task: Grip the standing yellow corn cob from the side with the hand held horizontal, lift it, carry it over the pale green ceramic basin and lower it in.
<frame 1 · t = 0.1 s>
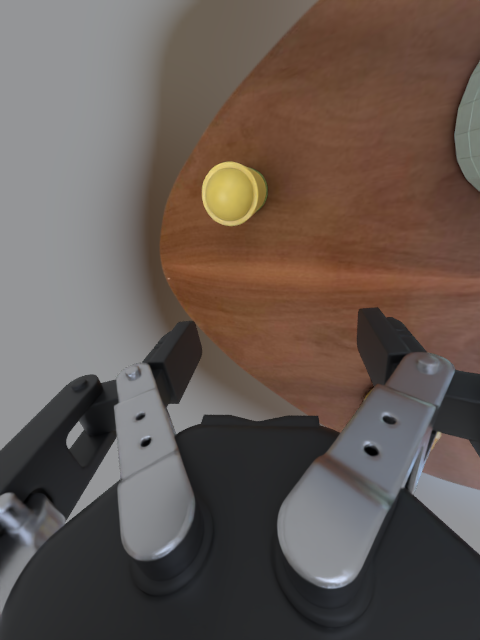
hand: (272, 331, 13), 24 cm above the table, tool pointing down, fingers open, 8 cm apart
corn cob: (247, 191, 31), on the table
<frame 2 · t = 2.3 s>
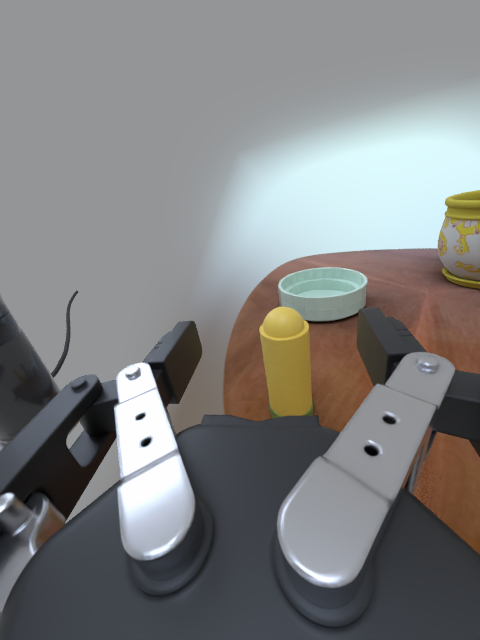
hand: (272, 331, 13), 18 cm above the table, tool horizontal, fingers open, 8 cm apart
basin: (320, 304, 54), on the table
corn cob: (291, 413, 30), on the table
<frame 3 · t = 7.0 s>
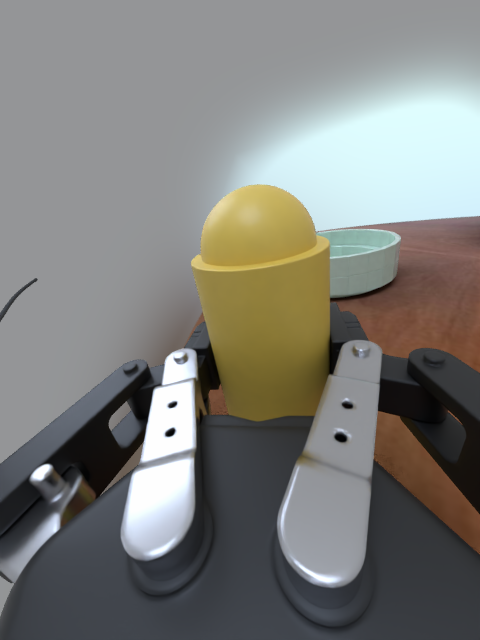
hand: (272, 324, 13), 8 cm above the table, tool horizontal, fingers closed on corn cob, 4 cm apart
basin: (329, 278, 38), on the table
corn cob: (284, 462, 14), on the table, touching gripper
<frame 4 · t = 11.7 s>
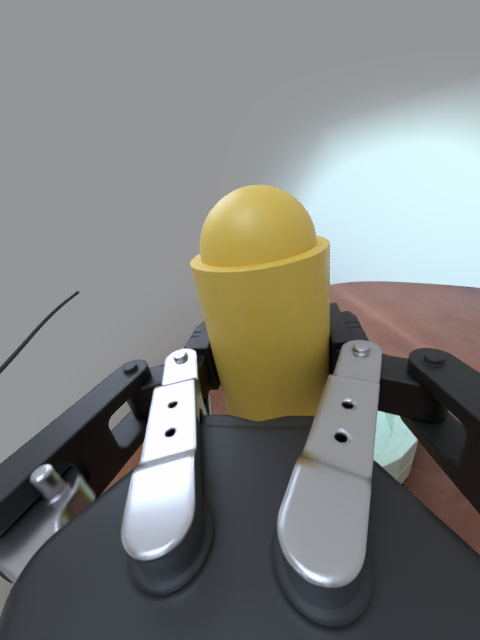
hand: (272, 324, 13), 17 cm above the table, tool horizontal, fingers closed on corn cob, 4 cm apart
basin: (317, 423, 27), on the table
corn cob: (284, 462, 14), point 10 cm above the table, touching gripper
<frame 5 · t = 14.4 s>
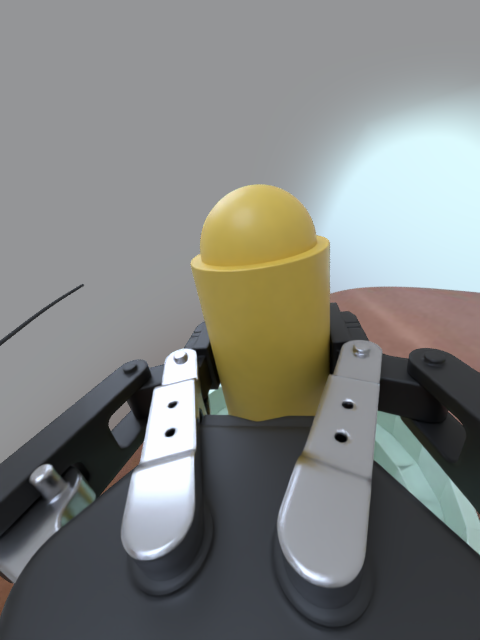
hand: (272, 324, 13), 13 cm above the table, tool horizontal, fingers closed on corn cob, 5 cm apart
basin: (290, 512, 17), on the table
corn cob: (285, 462, 14), point 6 cm above the table, touching gripper
when the fingers open (8 cm above the table, at t = 16.3 s): corn cob stays where it is, resting on basin.
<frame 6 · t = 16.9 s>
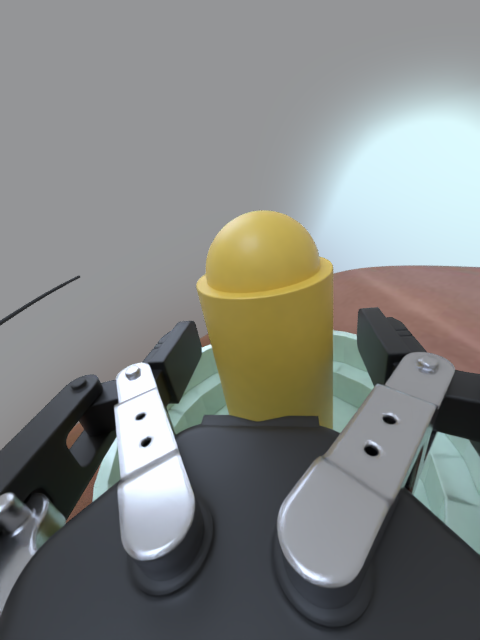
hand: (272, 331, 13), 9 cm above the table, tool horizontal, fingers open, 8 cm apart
basin: (287, 480, 15), on the table
corn cob: (288, 474, 14), point 1 cm above the table, touching basin
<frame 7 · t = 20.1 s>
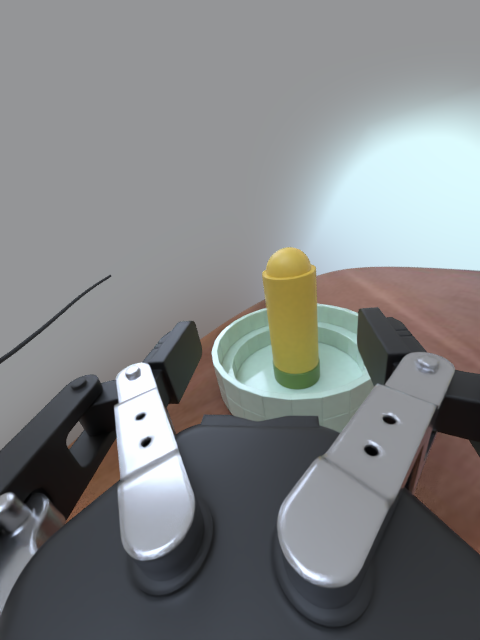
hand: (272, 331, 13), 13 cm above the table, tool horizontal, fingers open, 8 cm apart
basin: (296, 378, 29), on the table
corn cob: (296, 374, 28), point 1 cm above the table, touching basin
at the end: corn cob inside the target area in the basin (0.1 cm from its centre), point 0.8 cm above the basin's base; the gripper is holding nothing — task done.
